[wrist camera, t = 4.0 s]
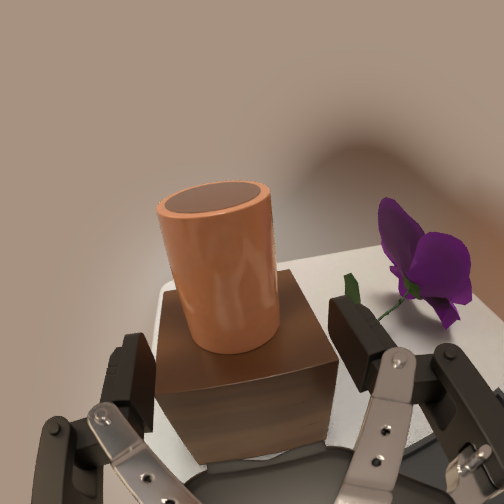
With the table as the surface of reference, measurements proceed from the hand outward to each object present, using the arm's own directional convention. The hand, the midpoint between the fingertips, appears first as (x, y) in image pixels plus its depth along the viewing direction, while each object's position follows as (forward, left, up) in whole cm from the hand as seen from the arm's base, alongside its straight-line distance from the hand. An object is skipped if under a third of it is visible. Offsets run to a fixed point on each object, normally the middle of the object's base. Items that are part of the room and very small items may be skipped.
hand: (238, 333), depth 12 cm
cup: (+5, +5, -5) cm, 8 cm away
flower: (+21, -4, -16) cm, 27 cm away
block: (+5, +5, -16) cm, 17 cm away
